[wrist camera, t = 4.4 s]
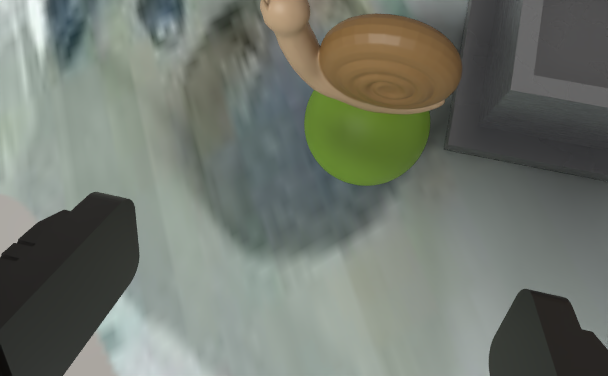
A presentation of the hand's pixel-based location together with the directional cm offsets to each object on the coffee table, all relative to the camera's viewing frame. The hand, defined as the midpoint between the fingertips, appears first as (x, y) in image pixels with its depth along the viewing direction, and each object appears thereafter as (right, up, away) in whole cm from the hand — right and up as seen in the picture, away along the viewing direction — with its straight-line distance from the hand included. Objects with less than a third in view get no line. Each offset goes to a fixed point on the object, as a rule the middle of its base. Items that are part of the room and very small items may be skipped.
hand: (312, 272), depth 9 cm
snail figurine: (+2, +4, +13) cm, 14 cm away
